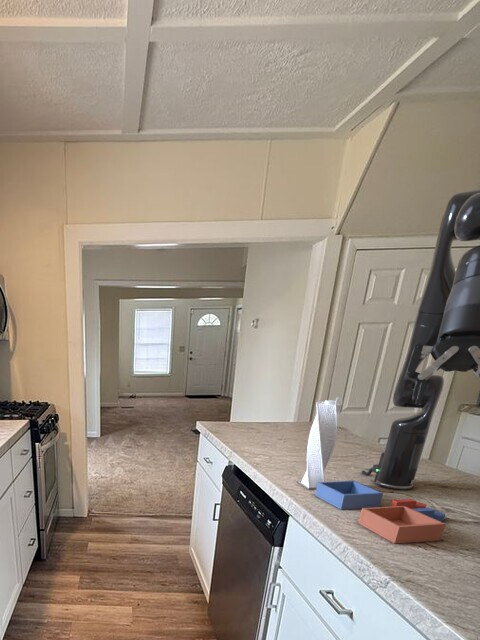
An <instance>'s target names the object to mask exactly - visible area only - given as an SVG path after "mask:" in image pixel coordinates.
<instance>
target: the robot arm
mask: <svg viewBox="0 0 480 640" xmlns="http://www.w3.org/2000/svg"><path fill="white" fill-rule="evenodd" d="M455 241H460V242H472V241H480V189H475V190H474V189H473V190H469V191H468V190H467V191H463V192H458V193H454V194H453V195H452V196H451V197H450V198H449V199H448V201H447V203H446V205H445V207H444V210H443V214H442V217H441V220H440V224H439V229H438V232H437V237H436V243H435V247H434V251H433V256H432V260H431V264H430V265H431V266H430V269H429V273H428V276H427V279H426V283H425V286H424V289H423V292H422V296H421V299H420V302H419V305H418V309H417V313H416V316H415V319H414V324H413V328H412V331H411V335H410V340H409V344H408V348H407V351H406V356H405V358H404V362H403V364H402V367H401V370H400V372H399V376H398V378H397V381H396V384H395V387H394V390H393V395H392V404H393V406H395V407H397V408H398V407H399V408H410V409H411V408H412V409H420V410H419V411H418V412H417V413H415V414H412V415H410V416H406V417H400V418H397V419H394V420H393V421H392V422H391V425H390V430H389V434H388V437H387V441H386V445H385V448H384V452H381V454H380V458H379V462H378V464H373V465H372V467H370V468H369V470H368V471H365V470H361V474H362V475H364V476H370V475H371V474H372V473H375V477H374V480H373V482H375V484H377V485H378V486H380V487H382V488H387V489H391V490H399V491H400V490H402V491H404V490H405V491H406V490H411V489H412V488H413V486H414V484H415V483H416V480H417V479H416V476H417V471H418V468H419V464H420V463H421V462H420V461H421V458H422V455H423V453H424V448H425V445H426V442H427V438H428V435H429V432H430V428H431V425H432V421H433V418H434V415H435V411H436V409H437V406H438V405H439V401H440V398H441V396H442V393H443V389H444V386H445V379H444V377H443V376H442V375H439V374H436V373H437V372H438V371H440V370H442V371H444V372H448V373H449V372H453V371H454V372H455V371H457V372H460V373H467V372H469V371H472V373H473V374H474V376H476V377H478V379H479V380H480V245H477V246H474V247H472V248H470V249H469V250H467V251H465V252H464V253H463V254H462V255H461V256H460V258H459V260H458V263H457V266H456V268H455V265H454V261H453V255H452V244H453V242H455ZM429 355H430V356H431V357H432V358H433V360H434V361H433V362H432V363H431V364H429V365H428V367H426V368H425V369H424V370H423V371H421V372H418V371H417V370H418V368H419V367H420V366H421V364H422V363H423V362H424V361H425V360H426V358H427V357H428V356H429ZM475 407H477V408H479V407H480V391H479V392H478V396H477V400H476V404H475Z"/></svg>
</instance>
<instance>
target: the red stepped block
mask: <svg viewBox="0 0 480 640" xmlns="http://www.w3.org/2000/svg"><path fill="white" fill-rule="evenodd" d="M391 506H406V507H408V508H411V509H418V508H427V504H426V503H424V502H421V501H417V500H415V499H413V498H400V499H399V498H398V499H392V500H391V503H390V506H389V507H391Z"/></svg>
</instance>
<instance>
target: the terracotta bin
mask: <svg viewBox="0 0 480 640" xmlns="http://www.w3.org/2000/svg"><path fill="white" fill-rule="evenodd" d="M357 524H359V525H361V526H362V527H364V528H366V529H367V530H369V531H371V532H373V533H375V534H377V535H378V536H380V537H382V538H384V539H386V540H387V541H389V542H391V543H393V544H405V543H406V544H407V543H420V542H436V541H438V542H439V541H441V540H442V536H443V535H444V531H445V527H446V525H447V524H446V523H445V522H444V521H438V520H436V519H433V518H431V517H429V516H427V515H424V514H422V513H420V512H417V511H415V510H413V509H411V508H408V507H406V506H391V507H390V506H380V507H373V508H361V511H360V515H359V519H358V522H357Z"/></svg>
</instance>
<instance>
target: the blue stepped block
mask: <svg viewBox="0 0 480 640" xmlns="http://www.w3.org/2000/svg"><path fill="white" fill-rule="evenodd" d="M413 510H415V511H417V512H420V513H422V514H424V515H427V516H429V517H431V518H433V519H436V520H438V521H440V522H444V521H445V517H446V514H445V513H444V512H441V511H439V510H436V509H432V508H430V507H426V508H418V509H413Z"/></svg>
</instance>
